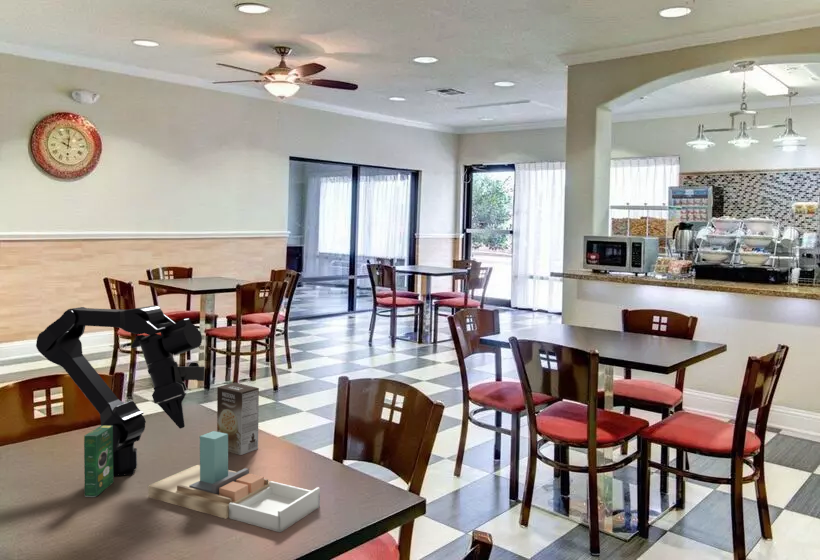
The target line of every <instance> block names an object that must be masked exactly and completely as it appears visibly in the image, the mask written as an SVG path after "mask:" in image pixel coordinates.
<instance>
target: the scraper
mask: <svg viewBox="0 0 820 560" xmlns="http://www.w3.org/2000/svg"><path fill="white" fill-rule="evenodd" d="M199 465H200V481H198V482H196V483H194V484H192V485H189V487H190V488H194V489H198V490H202V491H206V492H210V493H213V494H217V495H219V488H220V487H222V486H224V485H226V484H228V483H230V482H233V481H234V482H236V480H237V479H239V478H241V477H243V476H245V475H247V474H250V473H249V470H250V469H249V468H247V467H244V468H243V469H240V470H238V471H235V472H236V473H234V472H230V471H228V470H229V451H228V434H226V433H221V432H217V430H213V431H210V432H207V433H204V434H202V435H199Z"/></svg>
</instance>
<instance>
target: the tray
mask: <svg viewBox="0 0 820 560" xmlns="http://www.w3.org/2000/svg"><path fill="white" fill-rule="evenodd" d="M320 495H321V488H320V487H319V486H316V487H315V488H314V489H312V490H311V489H306V488H302V487H298V486H294V485H290V484H285V483H282V482H277V481H272V480H270V481H269V487H268V488H266V489H264V490H262V491H260V492H258V493H256V494H255V495H253V496H251V497H249V498H247V499H245V500H243V501H242V502H240V503H238V504H236V503H232V502H231V503H229V517H228V519H231V520H235V521H238V522H240V523H241V522H242V523H244V524H249V525H252V526H256V527H259V528H262V529H263V528H264V529H267V530H271V531H274V532H278V533H282V532H283V531H285V530H286V529H288V528H289V527H291V526H292V525H294V524H296V523H297V522H298V521H301V519H303V518H304V517H307V516H308V515H309V514H311V513H312V512H314V511H315V510H317V509H318V508H320V503H321V501H320V500H321V496H320Z"/></svg>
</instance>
